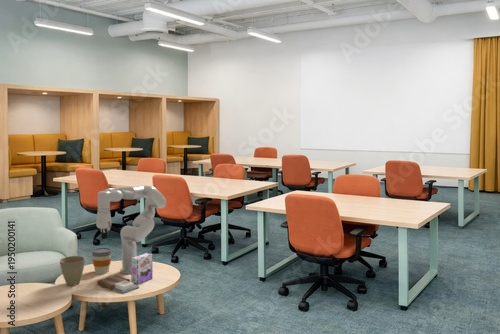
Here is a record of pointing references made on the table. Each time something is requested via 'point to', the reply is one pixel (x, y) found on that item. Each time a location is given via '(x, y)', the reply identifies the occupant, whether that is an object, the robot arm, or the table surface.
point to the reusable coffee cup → (101, 260)
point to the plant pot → (72, 269)
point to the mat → (126, 290)
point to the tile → (124, 285)
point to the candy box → (141, 268)
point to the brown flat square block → (111, 281)
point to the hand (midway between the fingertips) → (104, 238)
